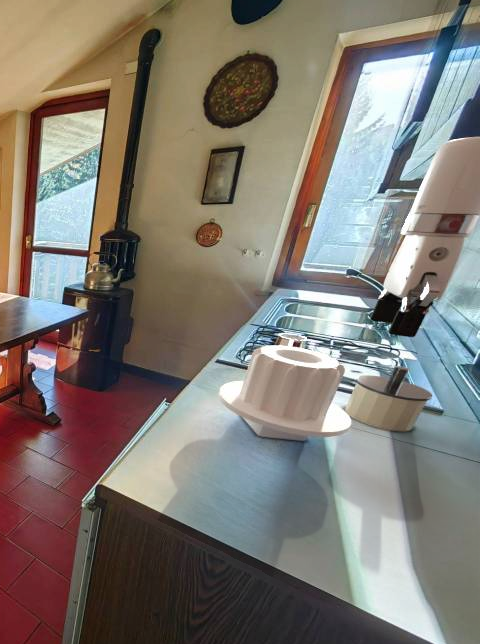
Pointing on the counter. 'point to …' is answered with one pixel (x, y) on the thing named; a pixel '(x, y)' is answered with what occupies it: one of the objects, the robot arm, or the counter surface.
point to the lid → (395, 386)
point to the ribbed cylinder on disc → (289, 394)
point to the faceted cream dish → (383, 410)
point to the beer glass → (291, 340)
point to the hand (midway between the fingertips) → (390, 328)
